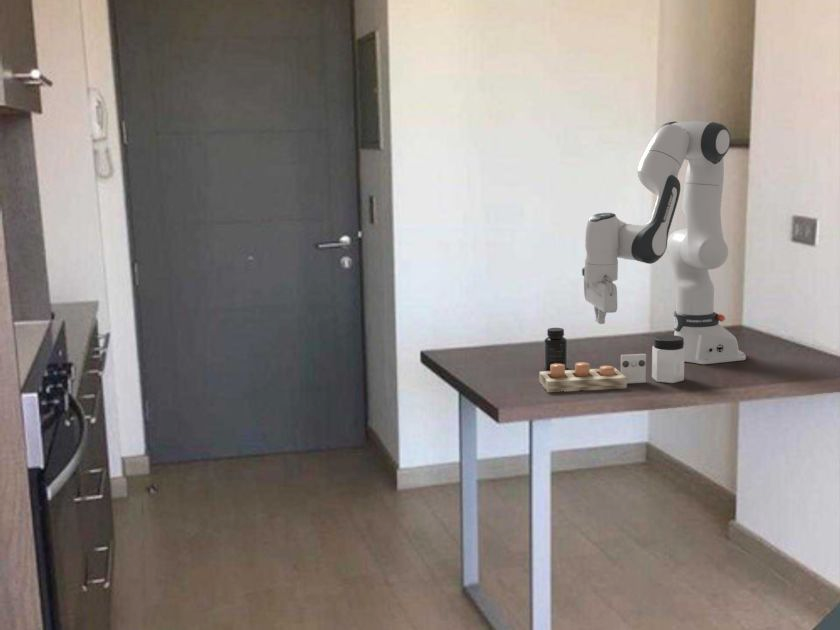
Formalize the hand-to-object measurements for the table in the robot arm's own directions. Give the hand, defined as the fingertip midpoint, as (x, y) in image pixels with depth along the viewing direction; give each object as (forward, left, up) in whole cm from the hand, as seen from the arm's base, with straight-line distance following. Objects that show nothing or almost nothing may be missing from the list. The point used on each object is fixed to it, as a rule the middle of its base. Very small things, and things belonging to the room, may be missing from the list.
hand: (600, 322), depth 272 cm
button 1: (+12, 0, -14) cm, 19 cm away
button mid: (+5, 0, -14) cm, 15 cm away
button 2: (-2, 0, -16) cm, 16 cm away
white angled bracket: (-10, 0, -18) cm, 20 cm away
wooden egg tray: (+5, 0, -18) cm, 18 cm away
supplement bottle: (+8, -20, -18) cm, 28 cm away
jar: (-20, -2, -18) cm, 27 cm away
